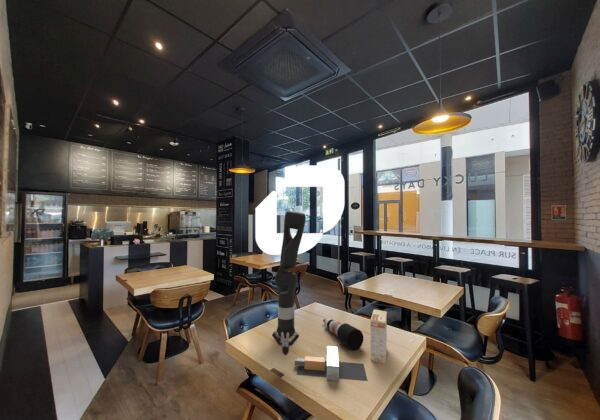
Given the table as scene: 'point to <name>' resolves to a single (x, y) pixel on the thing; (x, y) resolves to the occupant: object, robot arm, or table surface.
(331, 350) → the housing
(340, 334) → the black white tapered bottle
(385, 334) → the coffeecake box
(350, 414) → the table surface
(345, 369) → the mat
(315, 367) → the plug
